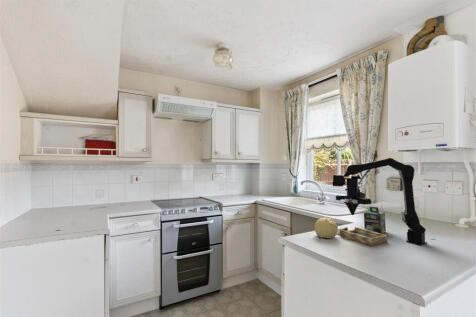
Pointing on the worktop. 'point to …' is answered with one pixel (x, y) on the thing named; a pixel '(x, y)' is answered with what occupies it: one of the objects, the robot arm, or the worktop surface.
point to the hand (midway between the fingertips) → (352, 214)
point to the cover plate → (341, 229)
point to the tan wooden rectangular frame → (364, 236)
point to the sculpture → (326, 228)
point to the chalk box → (374, 221)
